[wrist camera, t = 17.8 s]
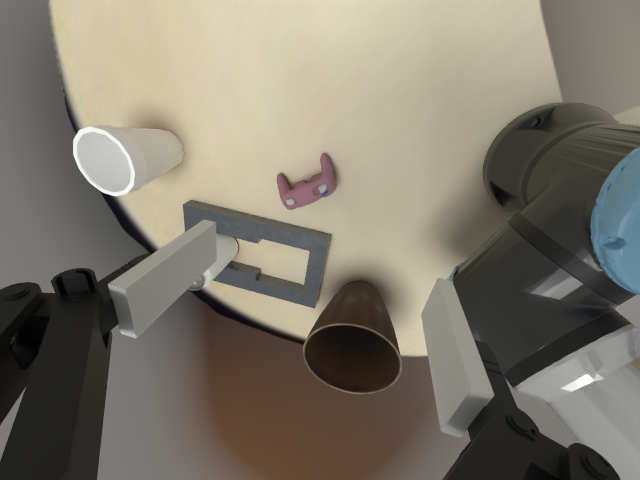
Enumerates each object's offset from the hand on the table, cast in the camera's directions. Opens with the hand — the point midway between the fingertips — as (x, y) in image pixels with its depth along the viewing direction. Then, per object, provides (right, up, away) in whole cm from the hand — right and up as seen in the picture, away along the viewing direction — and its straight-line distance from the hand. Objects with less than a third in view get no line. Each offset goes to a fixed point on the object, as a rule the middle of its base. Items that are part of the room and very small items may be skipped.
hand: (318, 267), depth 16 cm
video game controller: (-2, +12, +31) cm, 33 cm away
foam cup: (-27, +18, +34) cm, 47 cm away
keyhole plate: (-13, -1, +40) cm, 42 cm away
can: (-19, +1, +41) cm, 45 cm away
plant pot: (+8, -10, +40) cm, 42 cm away
